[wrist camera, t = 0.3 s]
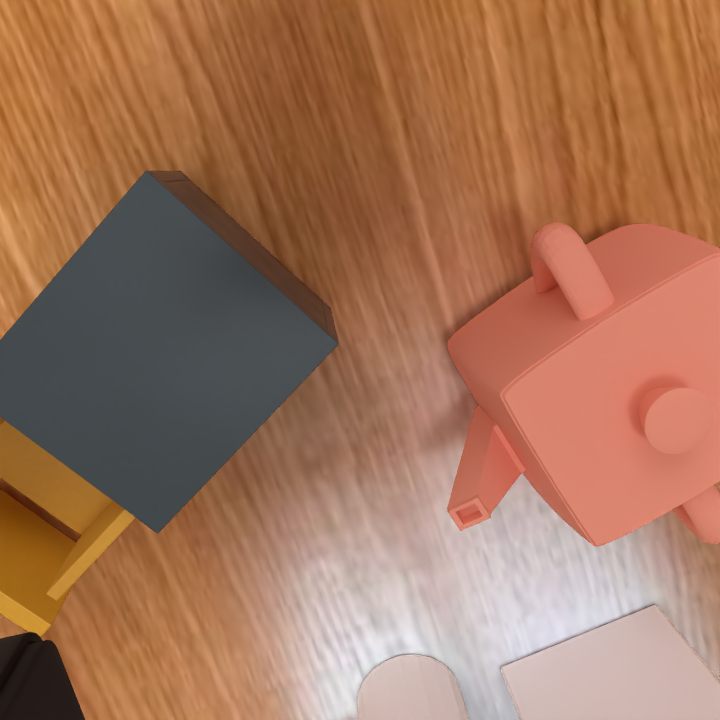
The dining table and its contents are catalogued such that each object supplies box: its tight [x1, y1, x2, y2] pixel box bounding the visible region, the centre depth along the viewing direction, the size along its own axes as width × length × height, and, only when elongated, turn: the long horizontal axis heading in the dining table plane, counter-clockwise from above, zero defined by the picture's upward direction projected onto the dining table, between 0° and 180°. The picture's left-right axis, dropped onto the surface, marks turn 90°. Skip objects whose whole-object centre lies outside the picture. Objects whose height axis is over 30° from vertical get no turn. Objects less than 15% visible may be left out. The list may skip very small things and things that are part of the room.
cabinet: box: [0, 171, 339, 533], centre depth 39 cm, size 15×13×10 cm
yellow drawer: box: [0, 417, 136, 637], centre depth 41 cm, size 18×11×8 cm, turn 136°
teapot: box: [447, 222, 720, 546], centre depth 40 cm, size 20×22×14 cm
